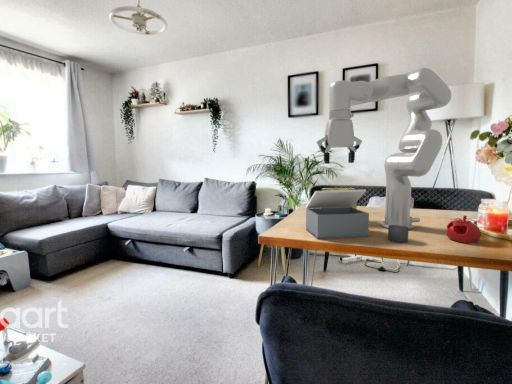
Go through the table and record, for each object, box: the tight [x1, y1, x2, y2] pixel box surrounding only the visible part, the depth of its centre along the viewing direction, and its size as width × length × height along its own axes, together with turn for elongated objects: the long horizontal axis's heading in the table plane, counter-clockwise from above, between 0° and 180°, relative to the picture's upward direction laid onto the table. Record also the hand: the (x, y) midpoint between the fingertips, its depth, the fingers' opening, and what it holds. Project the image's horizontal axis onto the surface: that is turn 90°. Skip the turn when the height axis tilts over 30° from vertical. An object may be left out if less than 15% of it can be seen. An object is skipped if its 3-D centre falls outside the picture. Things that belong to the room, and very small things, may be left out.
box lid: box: [305, 188, 367, 209], centre depth 107 cm, size 20×14×1 cm
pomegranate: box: [446, 215, 482, 244], centre depth 94 cm, size 10×10×9 cm
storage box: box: [305, 207, 370, 240], centre depth 106 cm, size 20×14×9 cm
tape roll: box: [387, 225, 410, 244], centre depth 96 cm, size 6×6×5 cm
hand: (339, 163), depth 101 cm, fingers open, 9 cm apart
